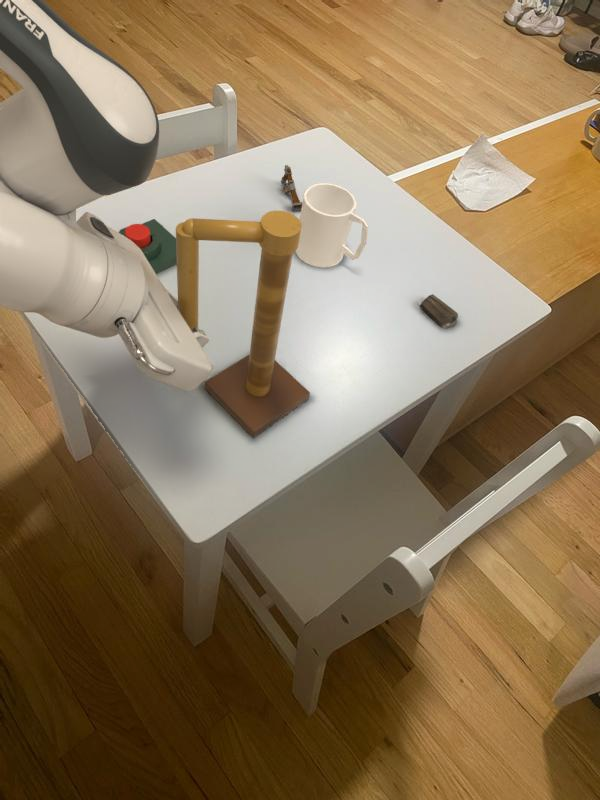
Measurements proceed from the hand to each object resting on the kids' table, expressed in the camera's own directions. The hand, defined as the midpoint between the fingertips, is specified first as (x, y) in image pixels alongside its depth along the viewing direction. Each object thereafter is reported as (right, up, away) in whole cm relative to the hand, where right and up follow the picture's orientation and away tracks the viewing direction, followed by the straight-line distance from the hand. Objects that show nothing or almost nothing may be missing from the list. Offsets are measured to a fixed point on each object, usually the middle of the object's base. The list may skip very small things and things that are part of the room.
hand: (194, 326), depth 69 cm
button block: (-13, +14, +24) cm, 31 cm away
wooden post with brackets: (+10, +27, +39) cm, 48 cm away
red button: (-12, +16, +22) cm, 30 cm away
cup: (+17, +15, +31) cm, 38 cm away
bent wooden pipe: (+4, -2, +4) cm, 5 cm away
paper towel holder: (+6, -8, +12) cm, 16 cm away
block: (+34, +5, +26) cm, 43 cm away
